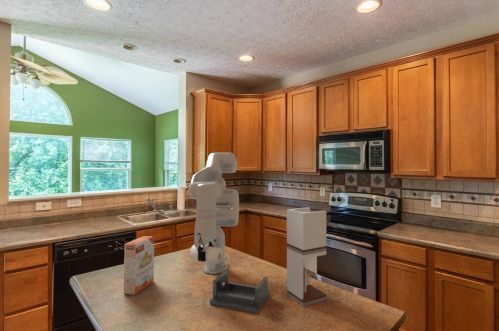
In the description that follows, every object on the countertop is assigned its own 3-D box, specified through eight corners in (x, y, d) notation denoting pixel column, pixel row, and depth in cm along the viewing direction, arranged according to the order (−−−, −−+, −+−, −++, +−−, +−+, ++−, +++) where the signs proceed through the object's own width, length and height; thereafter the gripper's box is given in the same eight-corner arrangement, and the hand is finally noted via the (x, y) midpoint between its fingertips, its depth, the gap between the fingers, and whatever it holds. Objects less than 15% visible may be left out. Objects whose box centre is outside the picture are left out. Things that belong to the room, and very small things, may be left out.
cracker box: (136, 296, 111) (136, 244, 111) (123, 294, 112) (123, 243, 112) (154, 281, 125) (154, 235, 125) (143, 280, 126) (142, 235, 126)
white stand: (303, 306, 103) (303, 213, 103) (286, 294, 112) (286, 209, 112) (326, 299, 108) (326, 210, 108) (308, 288, 117) (308, 207, 117)
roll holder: (227, 287, 119) (227, 268, 119) (269, 294, 112) (269, 274, 112) (209, 304, 104) (209, 283, 104) (256, 314, 97) (256, 291, 97)
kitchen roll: (198, 255, 116) (197, 242, 115) (223, 259, 111) (222, 245, 110) (190, 262, 111) (188, 248, 110) (216, 266, 106) (215, 251, 105)
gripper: (209, 210, 120) (209, 251, 120) (185, 217, 104) (185, 264, 104) (224, 211, 117) (224, 253, 117) (202, 218, 101) (202, 267, 101)
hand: (206, 258), depth 111 cm, fingers closed on kitchen roll, 6 cm apart
